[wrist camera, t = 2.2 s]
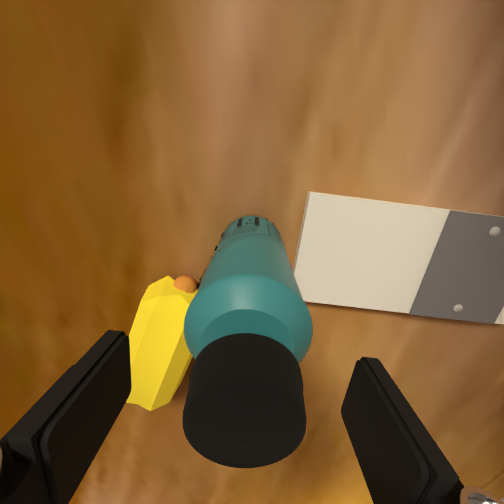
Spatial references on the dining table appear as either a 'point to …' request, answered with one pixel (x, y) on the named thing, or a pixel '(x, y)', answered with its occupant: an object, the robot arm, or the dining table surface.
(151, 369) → the yellow faceted oblong part
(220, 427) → the beverage bottle
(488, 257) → the floor panel
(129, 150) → the dining table surface
